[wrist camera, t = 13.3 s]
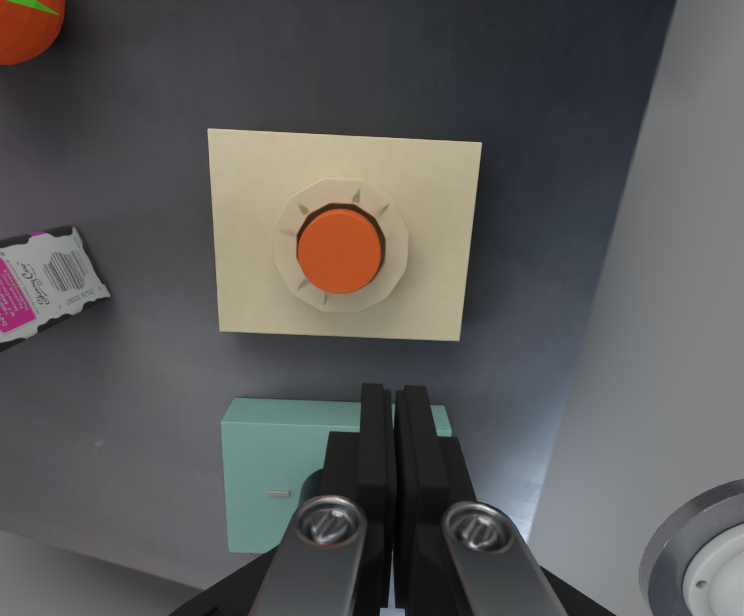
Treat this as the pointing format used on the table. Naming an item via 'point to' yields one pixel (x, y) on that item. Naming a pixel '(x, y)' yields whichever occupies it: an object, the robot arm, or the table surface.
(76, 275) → the candy bar box
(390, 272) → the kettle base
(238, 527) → the dial panel
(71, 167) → the table surface
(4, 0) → the clementine
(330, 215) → the power button
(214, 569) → the table surface
